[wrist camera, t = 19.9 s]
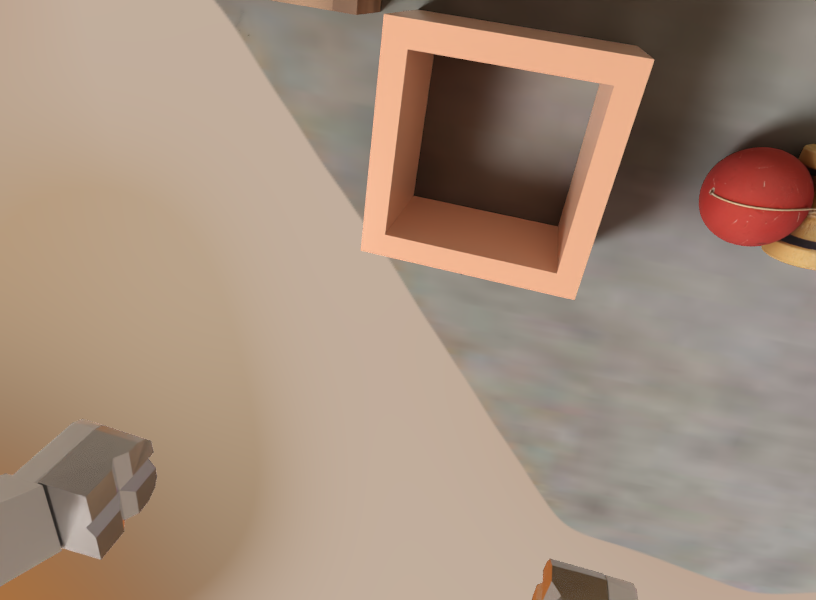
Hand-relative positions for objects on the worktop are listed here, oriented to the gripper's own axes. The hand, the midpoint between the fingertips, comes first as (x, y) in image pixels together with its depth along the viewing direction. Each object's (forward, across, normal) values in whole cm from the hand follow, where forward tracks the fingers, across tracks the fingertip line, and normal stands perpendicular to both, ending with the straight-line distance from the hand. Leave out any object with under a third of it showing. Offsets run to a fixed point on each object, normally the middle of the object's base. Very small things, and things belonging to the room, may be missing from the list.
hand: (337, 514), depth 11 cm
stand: (+33, 0, 0) cm, 33 cm away
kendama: (+31, -31, -1) cm, 44 cm away
